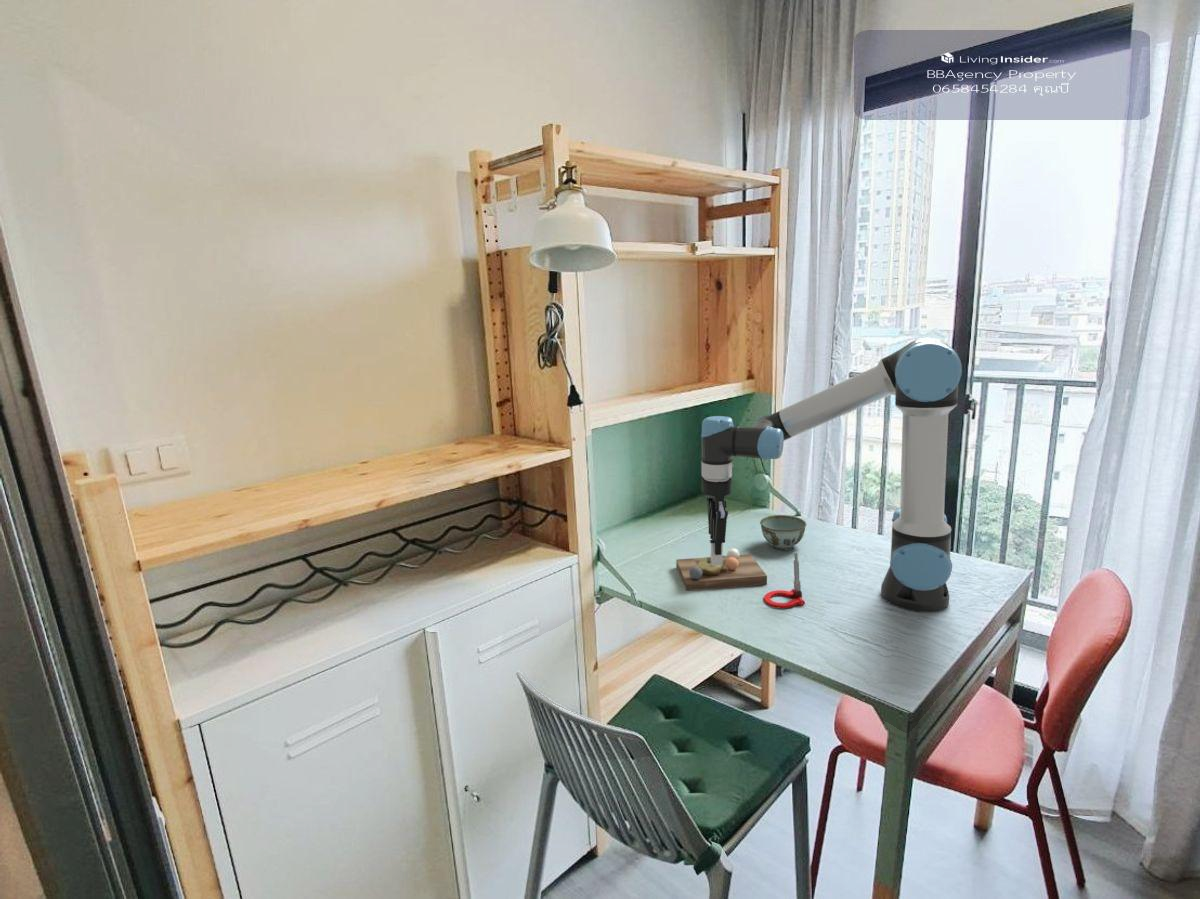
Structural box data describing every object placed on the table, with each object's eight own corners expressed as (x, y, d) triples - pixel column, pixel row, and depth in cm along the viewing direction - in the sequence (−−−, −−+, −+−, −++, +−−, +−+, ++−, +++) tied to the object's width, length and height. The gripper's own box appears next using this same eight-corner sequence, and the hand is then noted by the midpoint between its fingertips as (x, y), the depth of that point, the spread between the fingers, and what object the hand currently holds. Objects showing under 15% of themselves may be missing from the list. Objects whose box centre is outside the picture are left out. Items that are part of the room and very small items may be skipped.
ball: (740, 571, 166) (740, 559, 165) (727, 572, 166) (727, 560, 165) (736, 566, 169) (736, 554, 168) (724, 567, 169) (724, 555, 168)
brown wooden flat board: (766, 584, 163) (766, 575, 162) (686, 590, 162) (686, 581, 161) (750, 561, 177) (750, 554, 177) (676, 567, 177) (676, 559, 176)
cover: (725, 574, 164) (725, 562, 163) (701, 575, 164) (701, 563, 163) (719, 564, 170) (719, 553, 169) (696, 566, 170) (696, 554, 169)
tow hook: (769, 611, 150) (806, 607, 150) (767, 563, 147) (805, 559, 147) (760, 596, 158) (795, 592, 158) (757, 550, 155) (793, 546, 155)
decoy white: (741, 562, 172) (741, 550, 171) (729, 563, 171) (728, 551, 171) (737, 557, 175) (737, 546, 174) (725, 558, 175) (725, 547, 174)
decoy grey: (703, 581, 161) (703, 568, 161) (690, 582, 161) (690, 569, 160) (701, 575, 165) (700, 563, 164) (688, 576, 165) (688, 564, 164)
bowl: (795, 537, 194) (796, 513, 192) (813, 553, 181) (813, 528, 179) (754, 540, 193) (754, 516, 192) (768, 556, 180) (768, 531, 178)
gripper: (738, 484, 146) (737, 574, 152) (724, 470, 159) (724, 553, 164) (708, 486, 146) (708, 575, 151) (696, 471, 158) (697, 555, 164)
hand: (716, 564), depth 158 cm, fingers closed
